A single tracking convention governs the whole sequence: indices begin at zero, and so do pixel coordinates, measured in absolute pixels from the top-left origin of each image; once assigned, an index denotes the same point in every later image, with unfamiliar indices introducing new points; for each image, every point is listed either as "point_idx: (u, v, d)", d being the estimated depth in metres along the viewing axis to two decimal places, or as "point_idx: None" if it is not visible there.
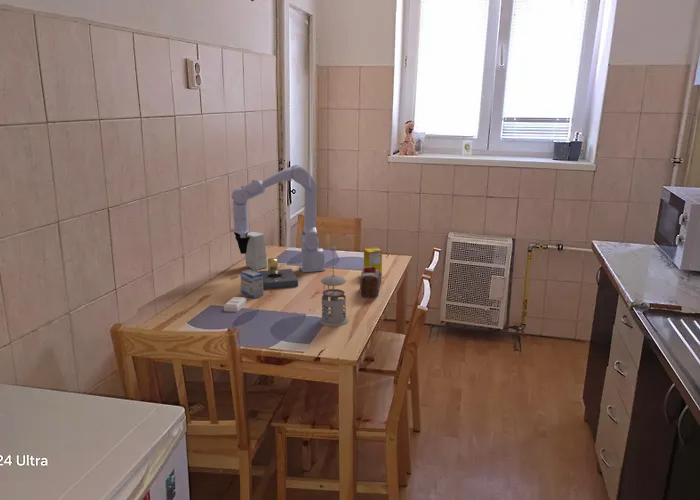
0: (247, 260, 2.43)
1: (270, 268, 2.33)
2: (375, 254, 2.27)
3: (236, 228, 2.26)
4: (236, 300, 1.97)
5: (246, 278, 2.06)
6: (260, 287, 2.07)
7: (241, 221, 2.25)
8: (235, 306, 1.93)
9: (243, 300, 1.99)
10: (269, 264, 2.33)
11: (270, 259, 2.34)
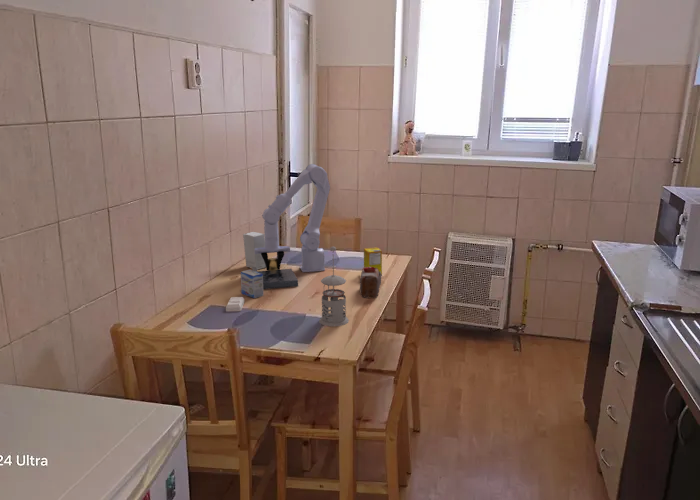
0: (247, 260, 2.43)
1: (270, 268, 2.33)
2: (375, 254, 2.27)
3: None
4: (236, 300, 1.97)
5: (246, 278, 2.06)
6: (260, 287, 2.07)
7: None
8: (238, 306, 1.93)
9: (242, 299, 1.99)
10: (269, 264, 2.33)
11: (270, 259, 2.34)
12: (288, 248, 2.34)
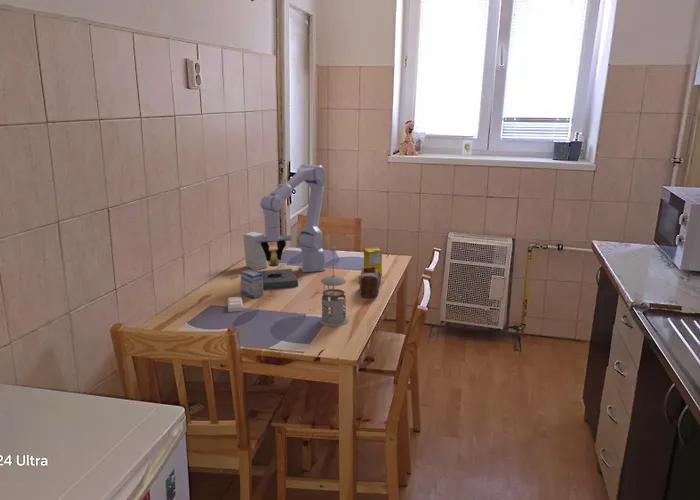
0: (247, 260, 2.43)
1: (271, 260, 2.21)
2: (375, 254, 2.27)
3: None
4: (236, 300, 1.97)
5: (246, 278, 2.06)
6: (260, 287, 2.07)
7: (265, 228, 2.18)
8: (240, 305, 1.93)
9: (241, 299, 2.00)
10: (270, 255, 2.20)
11: (270, 250, 2.21)
12: (289, 237, 2.21)
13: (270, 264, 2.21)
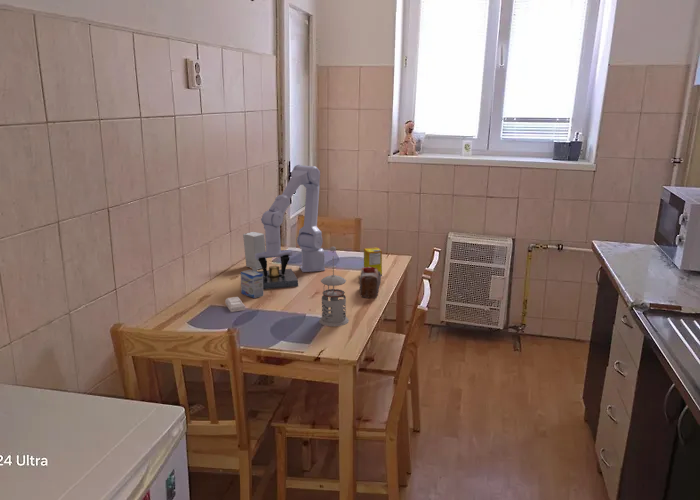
0: (247, 260, 2.43)
1: (272, 276, 2.22)
2: (375, 254, 2.27)
3: None
4: (235, 300, 1.97)
5: (246, 278, 2.06)
6: (260, 287, 2.07)
7: (266, 243, 2.19)
8: (242, 305, 1.94)
9: (239, 299, 2.00)
10: (270, 272, 2.22)
11: (271, 267, 2.22)
12: (290, 252, 2.23)
13: None
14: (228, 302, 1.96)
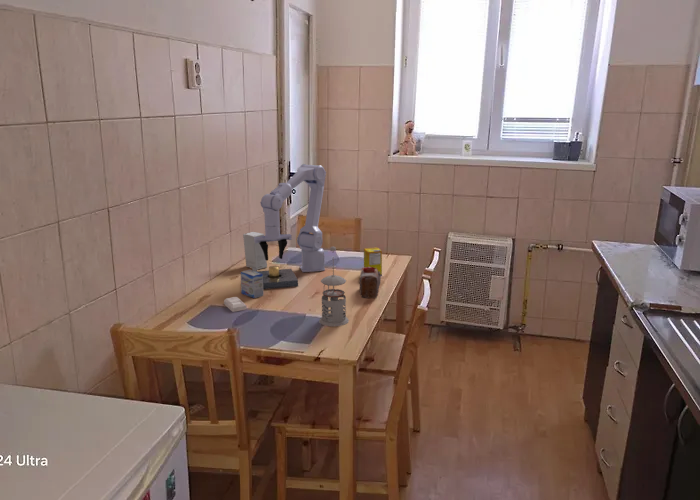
0: (247, 260, 2.43)
1: (272, 276, 2.22)
2: (375, 254, 2.27)
3: None
4: (235, 300, 1.97)
5: (246, 278, 2.06)
6: (260, 287, 2.07)
7: (265, 227, 2.17)
8: (243, 304, 1.94)
9: (238, 299, 2.00)
10: (270, 272, 2.22)
11: (271, 267, 2.22)
12: (289, 236, 2.21)
13: None
14: (228, 302, 1.96)
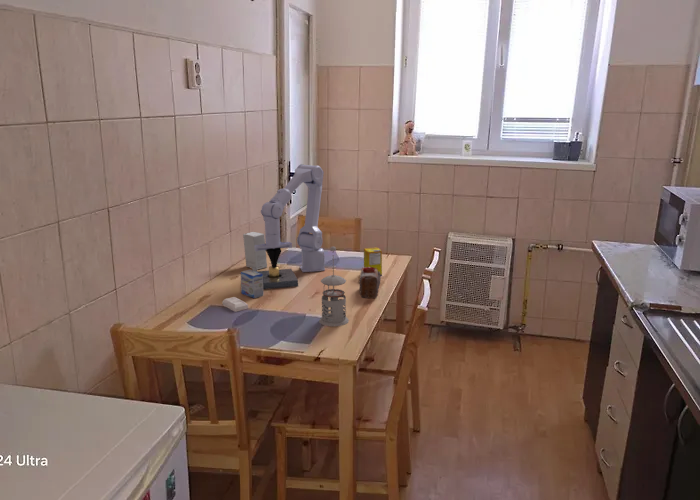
0: (247, 260, 2.43)
1: (272, 277, 2.22)
2: (375, 254, 2.27)
3: None
4: (235, 300, 1.97)
5: (246, 278, 2.06)
6: (260, 287, 2.07)
7: (265, 235, 2.18)
8: (245, 304, 1.95)
9: None
10: (271, 272, 2.22)
11: (271, 267, 2.22)
12: (290, 244, 2.22)
13: None
14: (228, 303, 1.96)
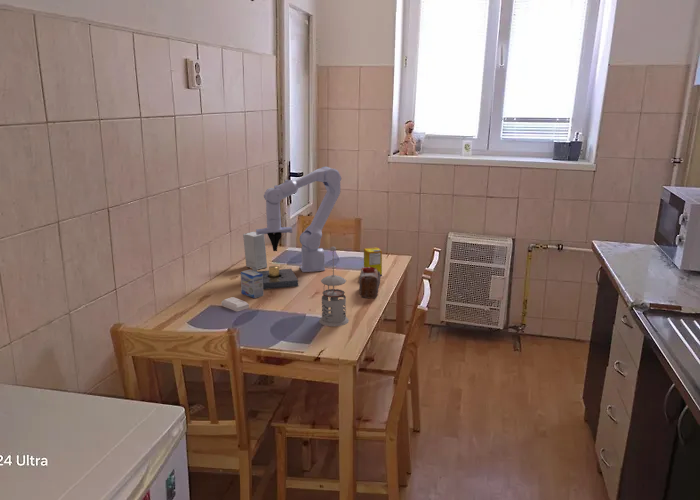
0: (247, 260, 2.43)
1: (272, 277, 2.22)
2: (375, 254, 2.27)
3: None
4: (235, 300, 1.97)
5: (246, 278, 2.06)
6: (260, 287, 2.07)
7: None
8: (246, 303, 1.95)
9: None
10: (271, 272, 2.22)
11: (271, 267, 2.22)
12: (290, 229, 2.31)
13: None
14: (229, 303, 1.96)
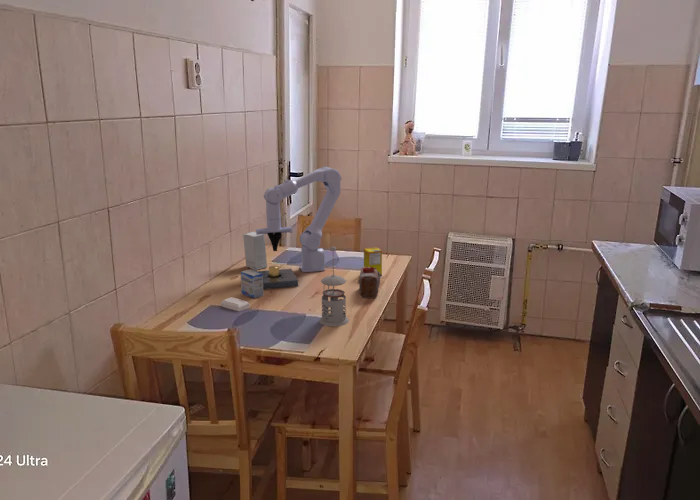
0: (247, 260, 2.43)
1: (272, 277, 2.22)
2: (375, 254, 2.27)
3: None
4: (235, 300, 1.97)
5: (246, 278, 2.06)
6: (260, 287, 2.07)
7: None
8: (246, 303, 1.96)
9: None
10: (271, 272, 2.22)
11: (271, 267, 2.22)
12: (290, 229, 2.31)
13: None
14: (229, 303, 1.95)
